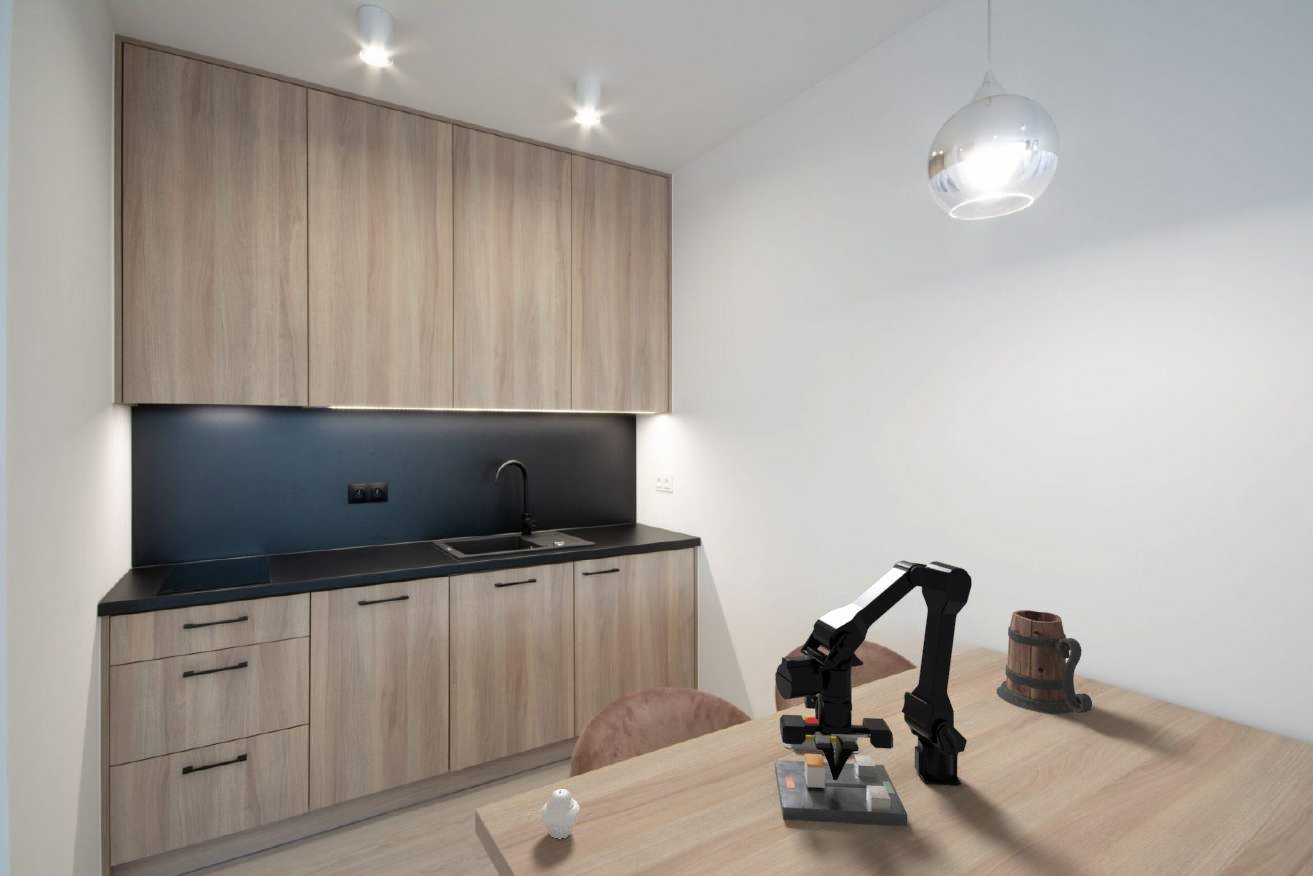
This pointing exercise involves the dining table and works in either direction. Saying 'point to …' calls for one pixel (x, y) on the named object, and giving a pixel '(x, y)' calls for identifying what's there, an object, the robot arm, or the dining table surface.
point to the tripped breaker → (814, 770)
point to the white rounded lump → (560, 814)
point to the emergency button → (810, 739)
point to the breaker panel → (840, 794)
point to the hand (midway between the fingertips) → (834, 778)
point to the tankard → (1042, 665)
